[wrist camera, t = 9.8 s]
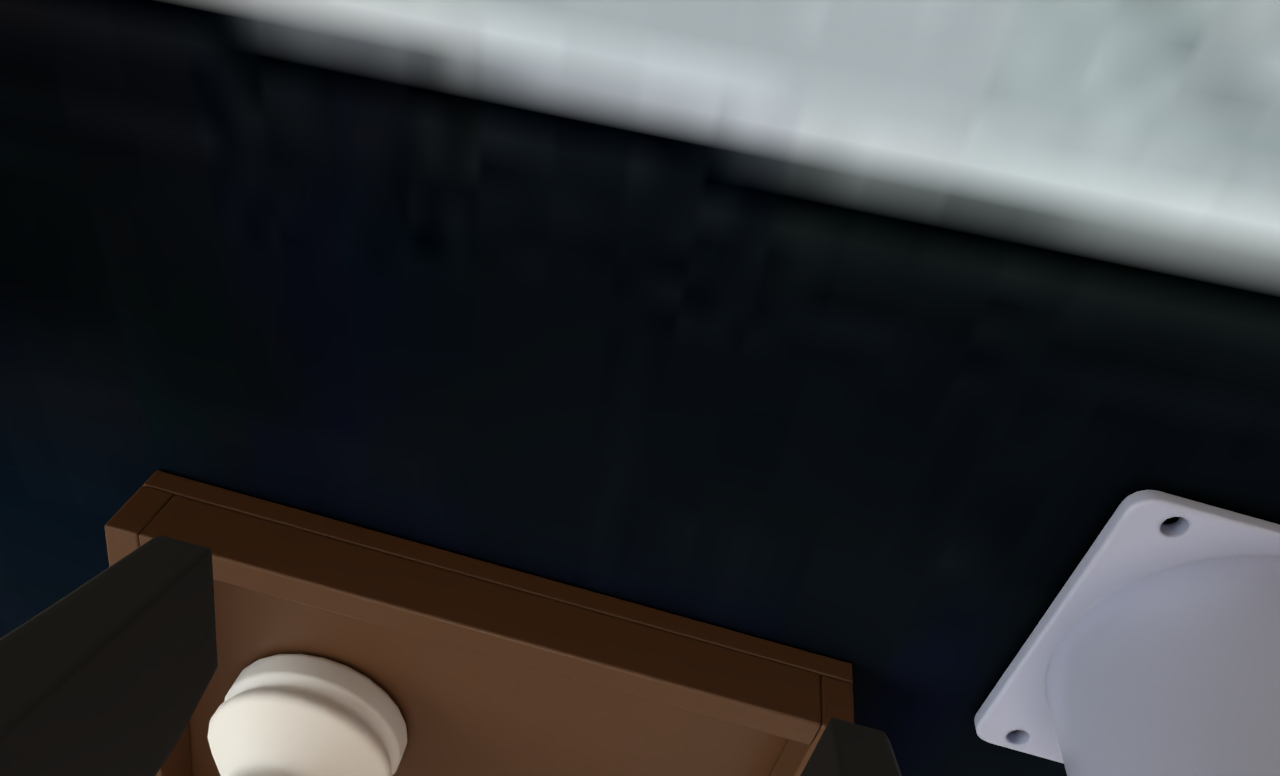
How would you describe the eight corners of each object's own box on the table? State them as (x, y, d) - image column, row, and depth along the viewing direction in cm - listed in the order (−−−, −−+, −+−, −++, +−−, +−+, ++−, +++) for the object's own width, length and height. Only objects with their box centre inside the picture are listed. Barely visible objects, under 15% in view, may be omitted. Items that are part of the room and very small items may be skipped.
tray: (852, 662, 23) (856, 735, 21) (706, 932, 31) (700, 1002, 29) (156, 468, 23) (103, 525, 21) (181, 786, 31) (143, 847, 29)
